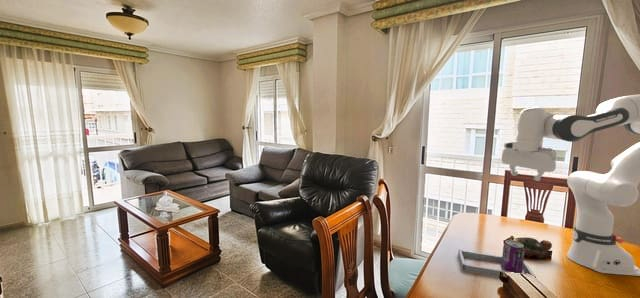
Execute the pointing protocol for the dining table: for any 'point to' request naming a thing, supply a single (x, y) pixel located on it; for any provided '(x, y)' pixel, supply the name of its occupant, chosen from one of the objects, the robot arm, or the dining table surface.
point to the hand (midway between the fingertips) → (525, 177)
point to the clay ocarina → (535, 247)
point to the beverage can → (513, 256)
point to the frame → (489, 258)
